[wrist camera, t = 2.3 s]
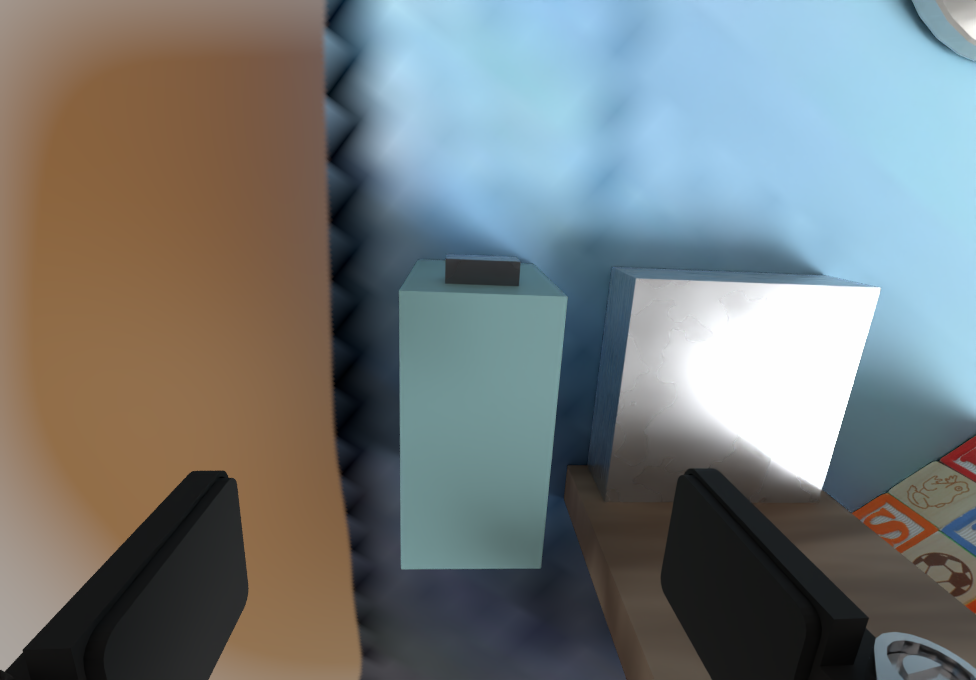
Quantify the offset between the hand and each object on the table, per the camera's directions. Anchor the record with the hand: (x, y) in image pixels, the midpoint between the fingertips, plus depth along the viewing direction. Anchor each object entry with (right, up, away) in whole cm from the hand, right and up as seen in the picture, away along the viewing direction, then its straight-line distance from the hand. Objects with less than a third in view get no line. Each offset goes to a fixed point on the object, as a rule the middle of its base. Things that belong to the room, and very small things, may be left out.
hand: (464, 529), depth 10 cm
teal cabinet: (0, +3, +12) cm, 12 cm away
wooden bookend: (+11, +1, +13) cm, 17 cm away
